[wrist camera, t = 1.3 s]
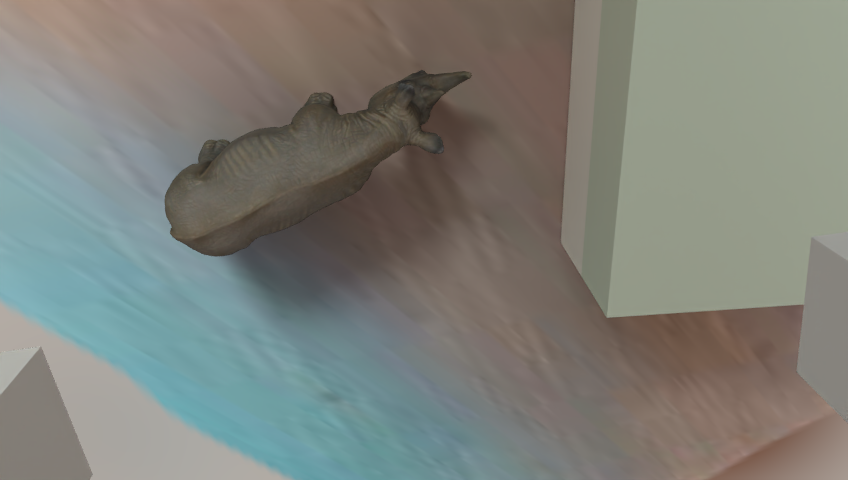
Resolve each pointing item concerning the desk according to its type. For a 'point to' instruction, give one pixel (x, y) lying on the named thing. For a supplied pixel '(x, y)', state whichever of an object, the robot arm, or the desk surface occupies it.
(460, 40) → the desk surface
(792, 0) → the block
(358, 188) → the rhino figurine
